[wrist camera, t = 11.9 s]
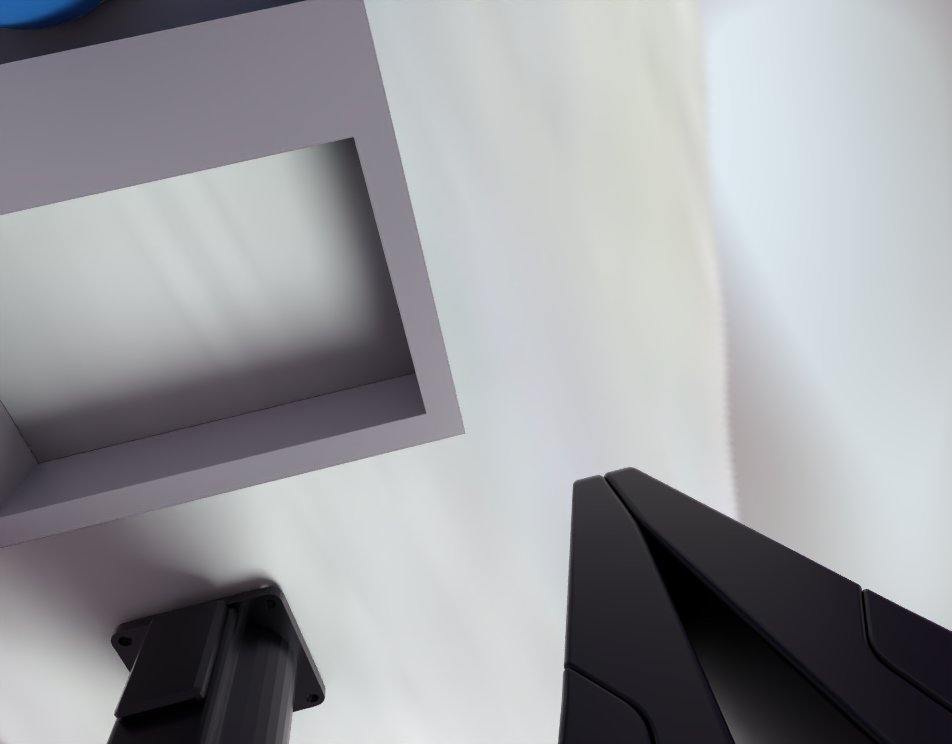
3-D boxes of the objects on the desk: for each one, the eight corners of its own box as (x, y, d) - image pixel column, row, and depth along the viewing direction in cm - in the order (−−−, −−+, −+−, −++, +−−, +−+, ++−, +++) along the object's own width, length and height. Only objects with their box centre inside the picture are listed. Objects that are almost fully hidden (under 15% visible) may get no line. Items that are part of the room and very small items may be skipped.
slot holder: (459, 389, 22) (476, 448, 19) (17, 496, 22) (-54, 580, 18) (254, -496, 13) (210, -711, 10) (-533, -363, 12) (-902, -542, 9)
